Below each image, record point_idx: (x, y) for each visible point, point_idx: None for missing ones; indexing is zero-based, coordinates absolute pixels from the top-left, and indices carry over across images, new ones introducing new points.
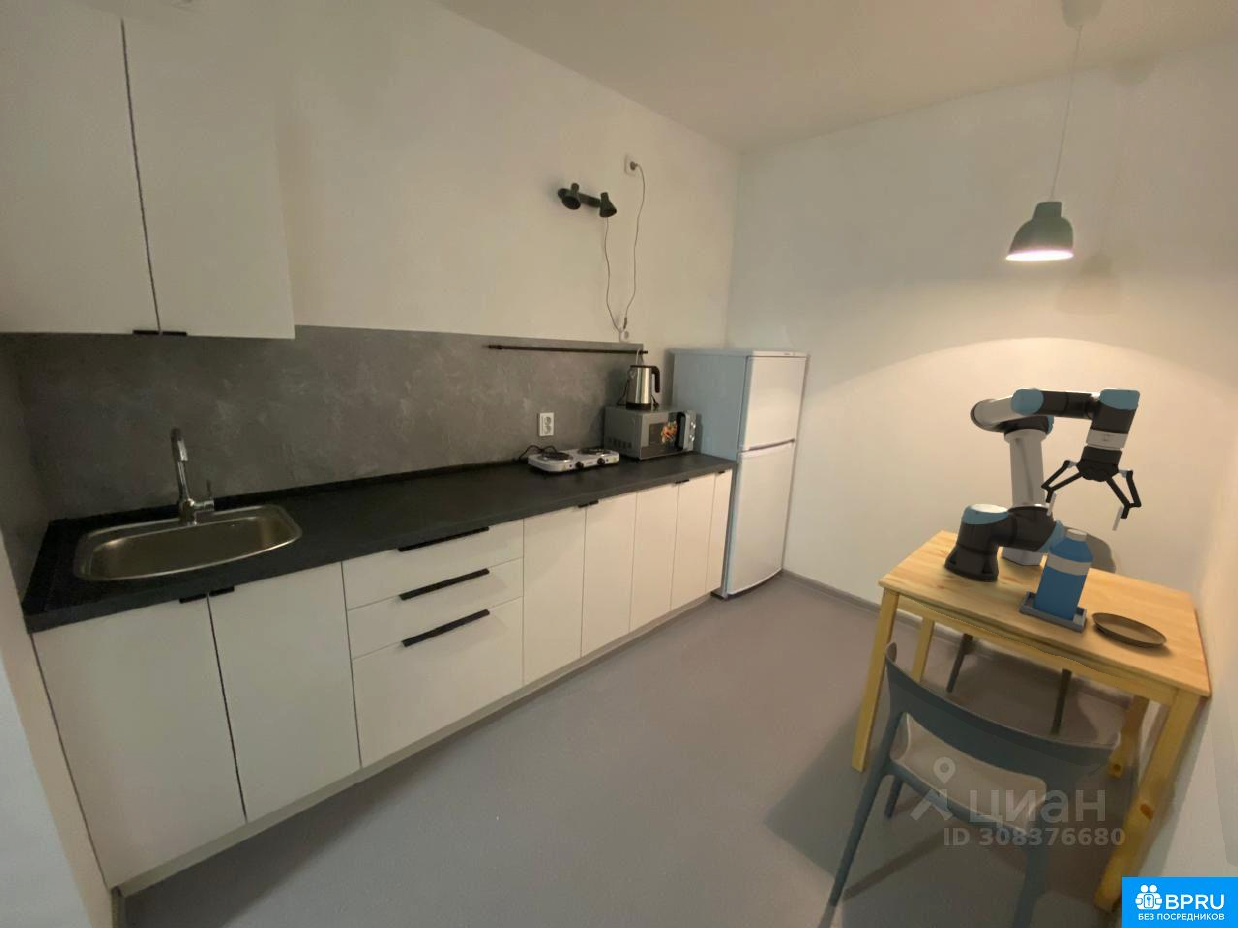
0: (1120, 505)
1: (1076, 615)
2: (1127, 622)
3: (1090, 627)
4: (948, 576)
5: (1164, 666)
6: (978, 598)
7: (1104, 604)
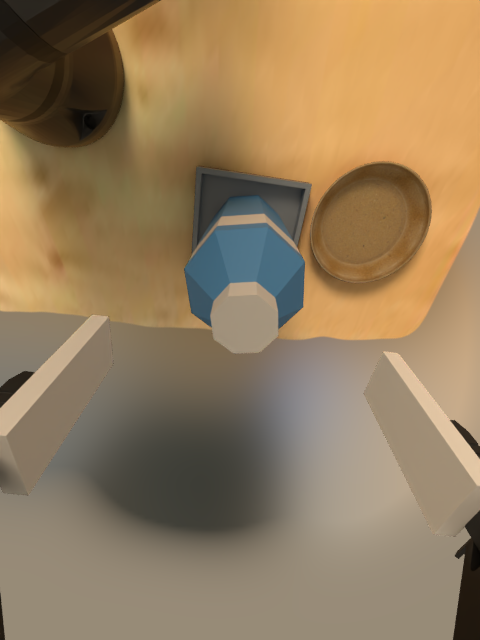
0: (468, 498)
1: (289, 208)
2: (386, 170)
3: (306, 242)
4: (37, 176)
5: (380, 314)
6: (124, 262)
7: (380, 24)
